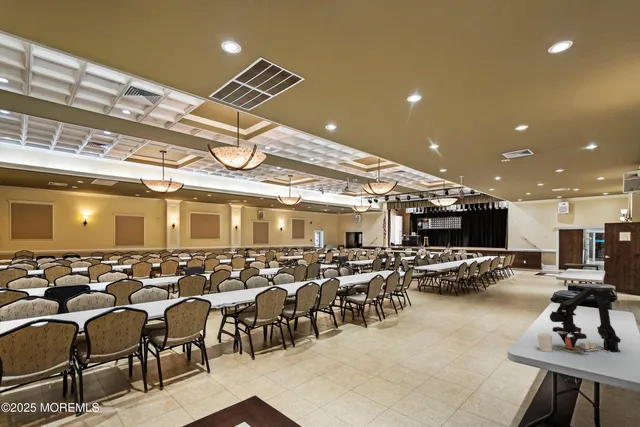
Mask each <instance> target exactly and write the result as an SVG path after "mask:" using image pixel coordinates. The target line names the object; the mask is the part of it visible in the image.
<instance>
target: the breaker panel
mask: <svg viewBox="0 0 640 427" xmlns="http://www.w3.org/2000/svg"><path fill="white" fill-rule="evenodd" d="M574 347H575V348H577V349H580V350H581V352H584V353H591V352H593V353H594V352H598V351H599V349H597V348H592V349H591V348H589V349H584V348H581V343H580V344H579V343H578V344H577V343H576V344H575V346H574Z"/></svg>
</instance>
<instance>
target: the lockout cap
mask: <svg viewBox="0 0 640 427" xmlns="http://www.w3.org/2000/svg"><path fill="white" fill-rule="evenodd" d="M570 337H571V336H567V337H565V343H564V347H565V348H567V350H572V349H575V347H572V344H571V339H570Z"/></svg>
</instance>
